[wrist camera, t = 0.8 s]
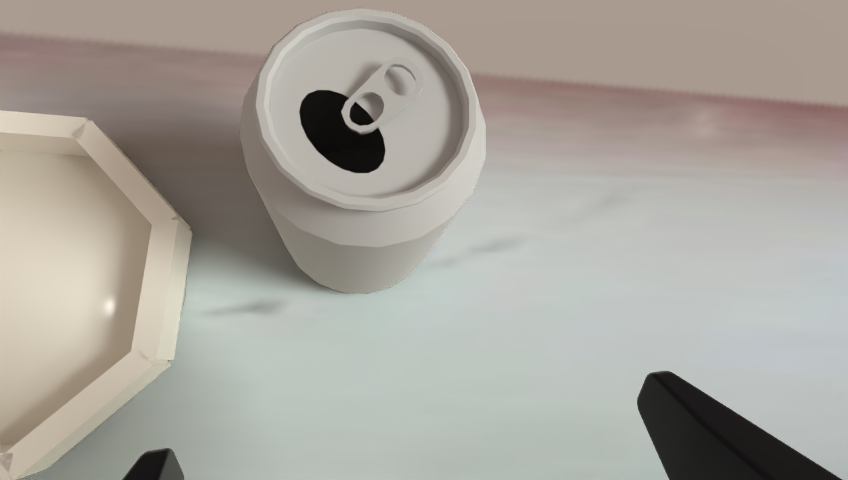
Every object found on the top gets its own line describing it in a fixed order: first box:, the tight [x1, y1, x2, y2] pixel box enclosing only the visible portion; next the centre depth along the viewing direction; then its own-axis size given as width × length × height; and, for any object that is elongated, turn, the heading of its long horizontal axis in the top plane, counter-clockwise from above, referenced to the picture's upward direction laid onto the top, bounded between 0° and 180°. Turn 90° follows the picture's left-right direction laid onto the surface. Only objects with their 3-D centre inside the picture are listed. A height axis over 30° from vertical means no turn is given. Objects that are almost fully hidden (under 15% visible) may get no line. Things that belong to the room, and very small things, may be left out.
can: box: [239, 8, 486, 294], centre depth 19 cm, size 8×8×12 cm
